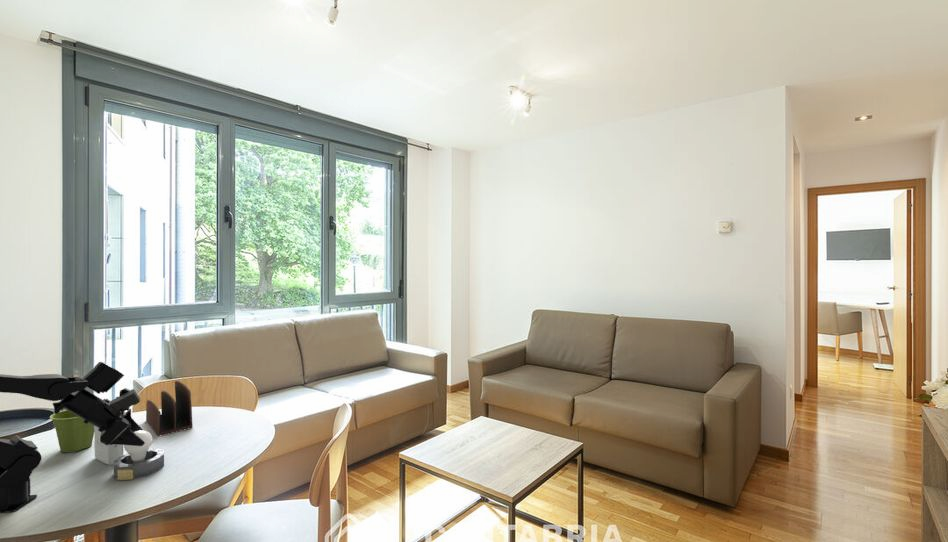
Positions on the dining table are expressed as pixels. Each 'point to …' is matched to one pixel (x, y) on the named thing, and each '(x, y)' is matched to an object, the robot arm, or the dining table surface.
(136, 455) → the lightbulb
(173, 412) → the letter holder
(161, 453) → the roll of grey tape
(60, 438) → the plant pot
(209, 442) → the dining table surface
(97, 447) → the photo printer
